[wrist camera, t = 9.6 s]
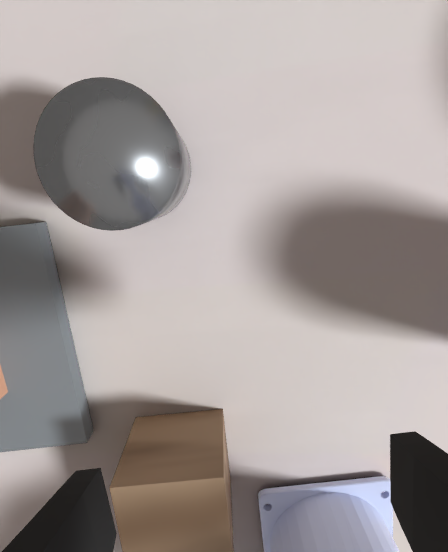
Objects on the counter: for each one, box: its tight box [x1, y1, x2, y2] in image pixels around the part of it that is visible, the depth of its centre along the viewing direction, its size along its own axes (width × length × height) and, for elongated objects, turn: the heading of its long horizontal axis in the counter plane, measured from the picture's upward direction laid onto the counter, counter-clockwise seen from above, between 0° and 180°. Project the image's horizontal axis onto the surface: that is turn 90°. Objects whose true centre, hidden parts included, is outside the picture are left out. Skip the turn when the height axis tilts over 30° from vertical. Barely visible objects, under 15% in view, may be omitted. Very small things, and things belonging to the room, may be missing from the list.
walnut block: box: [110, 409, 234, 552], centre depth 18 cm, size 5×5×5 cm
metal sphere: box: [34, 77, 191, 230], centre depth 14 cm, size 5×5×5 cm
